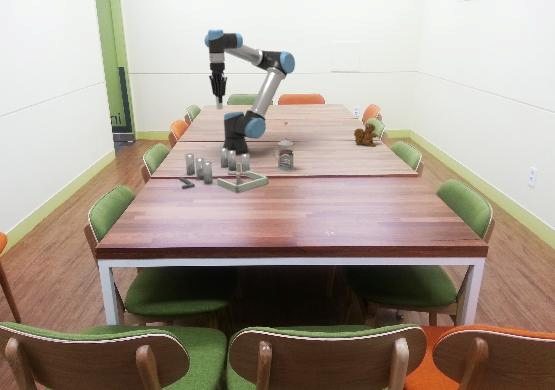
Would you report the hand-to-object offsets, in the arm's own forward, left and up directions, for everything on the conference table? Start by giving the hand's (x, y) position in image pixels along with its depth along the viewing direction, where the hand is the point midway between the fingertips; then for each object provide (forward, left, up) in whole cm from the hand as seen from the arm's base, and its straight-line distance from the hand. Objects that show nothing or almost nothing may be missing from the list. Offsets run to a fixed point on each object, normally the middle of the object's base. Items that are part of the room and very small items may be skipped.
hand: (219, 109), depth 234 cm
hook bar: (+34, +15, -29) cm, 47 cm away
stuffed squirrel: (-88, +28, -30) cm, 97 cm away
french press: (-17, +31, -30) cm, 46 cm away
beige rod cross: (+14, +33, -30) cm, 46 cm away
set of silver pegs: (+13, +14, -29) cm, 35 cm away
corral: (+13, +34, -29) cm, 47 cm away
